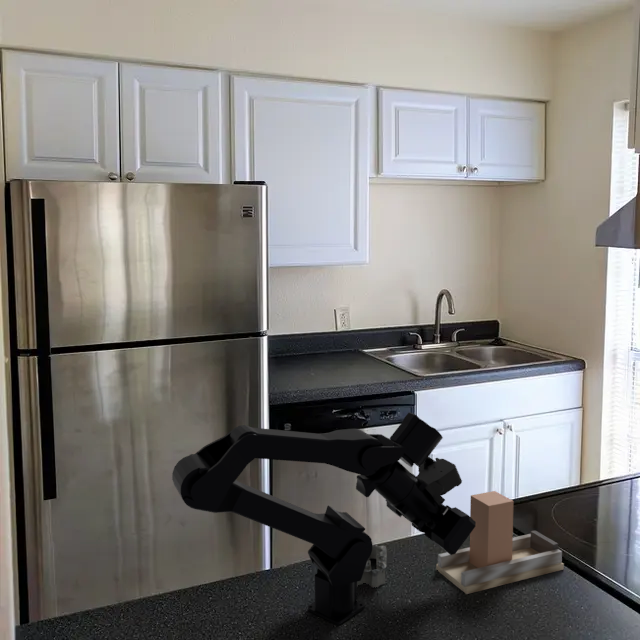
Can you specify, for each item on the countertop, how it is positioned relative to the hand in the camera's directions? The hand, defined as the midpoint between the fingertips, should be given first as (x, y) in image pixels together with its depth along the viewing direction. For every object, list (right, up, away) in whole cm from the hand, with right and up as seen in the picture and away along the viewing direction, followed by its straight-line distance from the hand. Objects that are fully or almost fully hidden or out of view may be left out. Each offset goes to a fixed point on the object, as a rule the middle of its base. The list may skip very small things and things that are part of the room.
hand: (458, 541), depth 110 cm
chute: (+8, -6, +4) cm, 11 cm away
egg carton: (-15, -7, +4) cm, 17 cm away
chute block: (+6, -5, +3) cm, 9 cm away
